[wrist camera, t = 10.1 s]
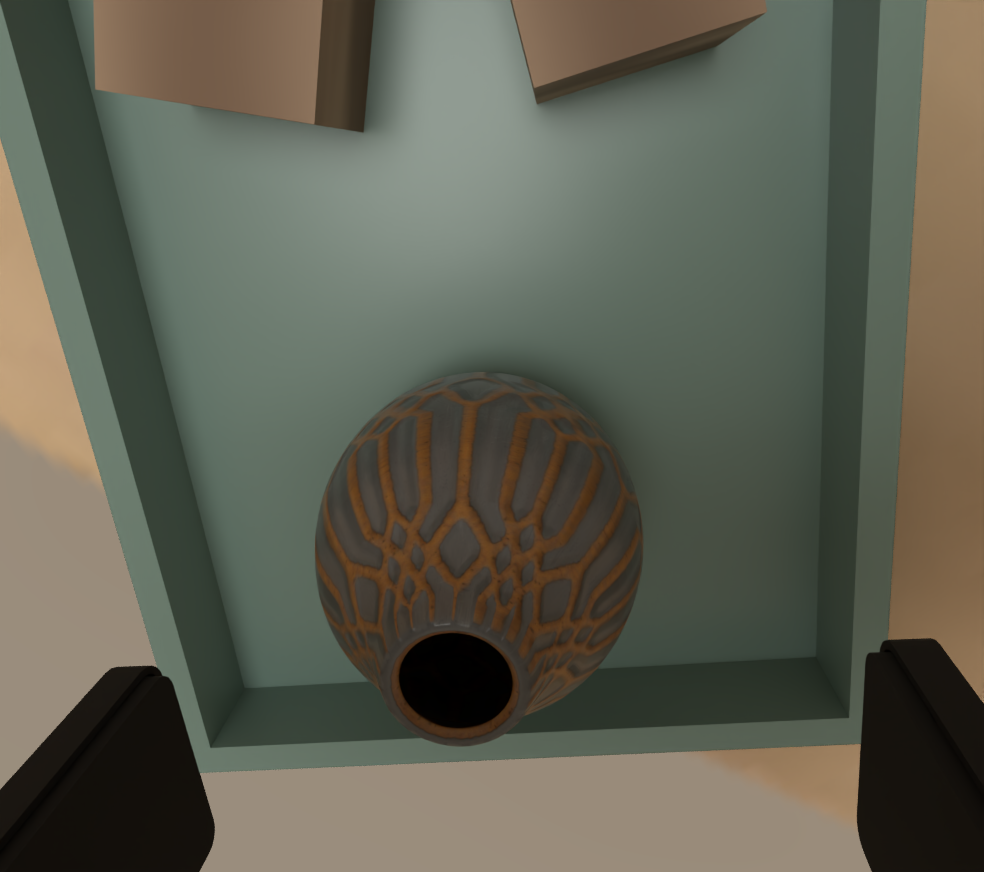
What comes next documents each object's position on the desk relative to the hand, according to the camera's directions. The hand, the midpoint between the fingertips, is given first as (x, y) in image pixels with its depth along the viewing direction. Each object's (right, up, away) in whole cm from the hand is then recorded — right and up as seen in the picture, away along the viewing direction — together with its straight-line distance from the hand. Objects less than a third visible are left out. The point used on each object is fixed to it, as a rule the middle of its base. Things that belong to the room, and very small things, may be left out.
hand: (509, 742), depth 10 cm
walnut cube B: (-5, +13, +7) cm, 16 cm away
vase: (0, +3, +10) cm, 10 cm away
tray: (0, +7, +9) cm, 12 cm away
